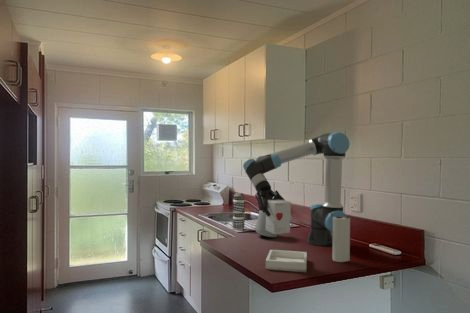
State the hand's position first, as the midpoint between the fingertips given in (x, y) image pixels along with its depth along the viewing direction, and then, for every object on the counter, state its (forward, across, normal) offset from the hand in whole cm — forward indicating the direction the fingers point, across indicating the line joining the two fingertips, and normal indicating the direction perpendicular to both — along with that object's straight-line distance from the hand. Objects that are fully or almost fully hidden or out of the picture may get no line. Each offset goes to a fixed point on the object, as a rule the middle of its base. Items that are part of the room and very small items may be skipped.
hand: (282, 220), depth 161 cm
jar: (-16, -32, -46) cm, 58 cm away
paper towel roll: (+24, -26, -5) cm, 36 cm away
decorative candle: (-36, -29, -67) cm, 81 cm away
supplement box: (+2, 0, -7) cm, 7 cm away
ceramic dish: (+16, -1, -13) cm, 21 cm away
